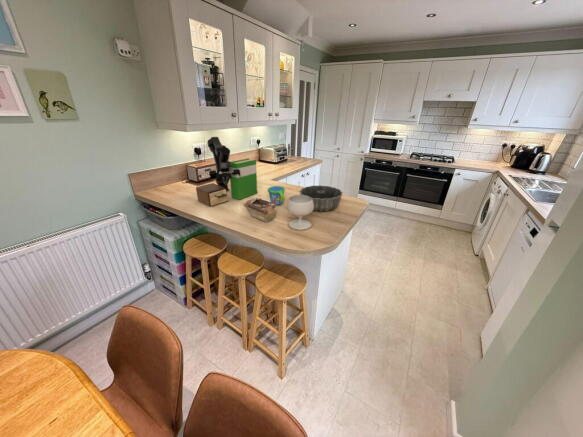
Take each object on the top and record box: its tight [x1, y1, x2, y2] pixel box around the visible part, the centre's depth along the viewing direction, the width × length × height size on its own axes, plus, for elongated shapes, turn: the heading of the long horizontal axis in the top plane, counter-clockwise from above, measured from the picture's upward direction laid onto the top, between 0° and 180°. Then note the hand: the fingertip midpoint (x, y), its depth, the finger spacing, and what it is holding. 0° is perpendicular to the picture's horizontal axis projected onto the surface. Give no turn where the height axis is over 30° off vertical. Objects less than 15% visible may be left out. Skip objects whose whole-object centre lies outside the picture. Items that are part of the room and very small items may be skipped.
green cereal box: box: [229, 158, 258, 200], centre depth 160 cm, size 18×7×24 cm, turn 145°
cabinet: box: [195, 182, 227, 207], centre depth 154 cm, size 15×13×10 cm
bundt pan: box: [299, 184, 344, 212], centre depth 145 cm, size 26×26×10 cm
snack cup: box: [267, 185, 286, 206], centre depth 150 cm, size 16×10×10 cm
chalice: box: [286, 194, 314, 231], centre depth 121 cm, size 14×14×15 cm
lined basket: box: [242, 197, 277, 223], centre depth 131 cm, size 13×20×10 cm, turn 43°
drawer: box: [209, 189, 228, 207], centre depth 151 cm, size 18×11×8 cm, turn 48°
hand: (226, 185), depth 145 cm, fingers closed
